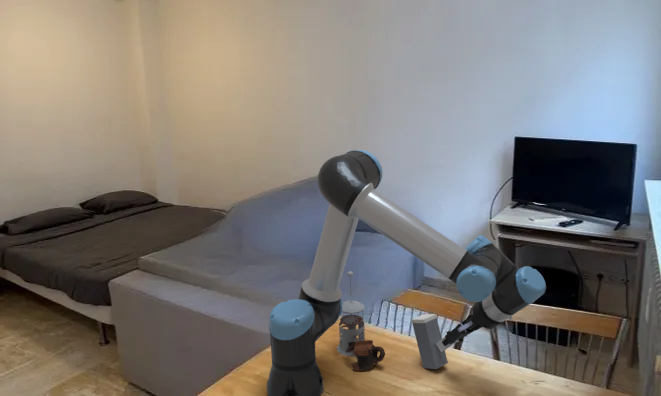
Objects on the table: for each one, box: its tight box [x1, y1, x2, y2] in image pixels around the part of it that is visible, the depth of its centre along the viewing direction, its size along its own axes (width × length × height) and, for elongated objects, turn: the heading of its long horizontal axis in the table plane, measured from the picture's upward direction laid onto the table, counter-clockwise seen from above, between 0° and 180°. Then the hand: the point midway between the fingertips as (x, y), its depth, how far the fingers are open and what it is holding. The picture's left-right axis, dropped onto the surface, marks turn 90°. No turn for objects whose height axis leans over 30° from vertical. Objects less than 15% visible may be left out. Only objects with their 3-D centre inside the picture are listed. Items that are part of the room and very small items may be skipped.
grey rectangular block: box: [411, 313, 449, 370], centre depth 151 cm, size 5×5×14 cm
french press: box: [336, 271, 366, 357], centre depth 162 cm, size 10×12×25 cm
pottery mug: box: [346, 339, 386, 372], centre depth 155 cm, size 12×10×8 cm
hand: (440, 346), depth 149 cm, fingers closed
